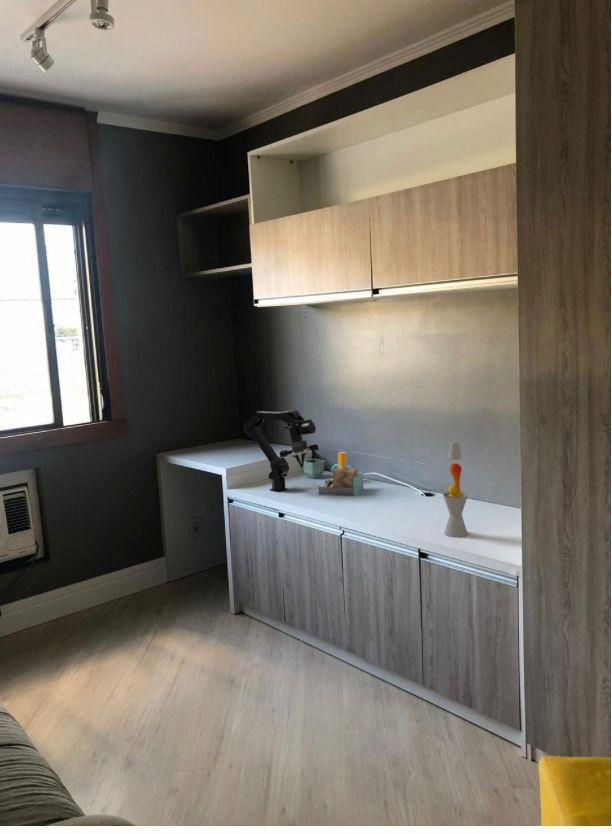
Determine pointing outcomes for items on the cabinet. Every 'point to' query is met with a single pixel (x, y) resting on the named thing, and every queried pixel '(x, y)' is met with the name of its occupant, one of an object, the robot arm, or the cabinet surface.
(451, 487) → the lava lamp
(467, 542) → the cabinet surface
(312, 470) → the flower pot
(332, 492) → the roller bed
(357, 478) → the stop bar
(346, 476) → the brown wooden block
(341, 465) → the orange post with rings
